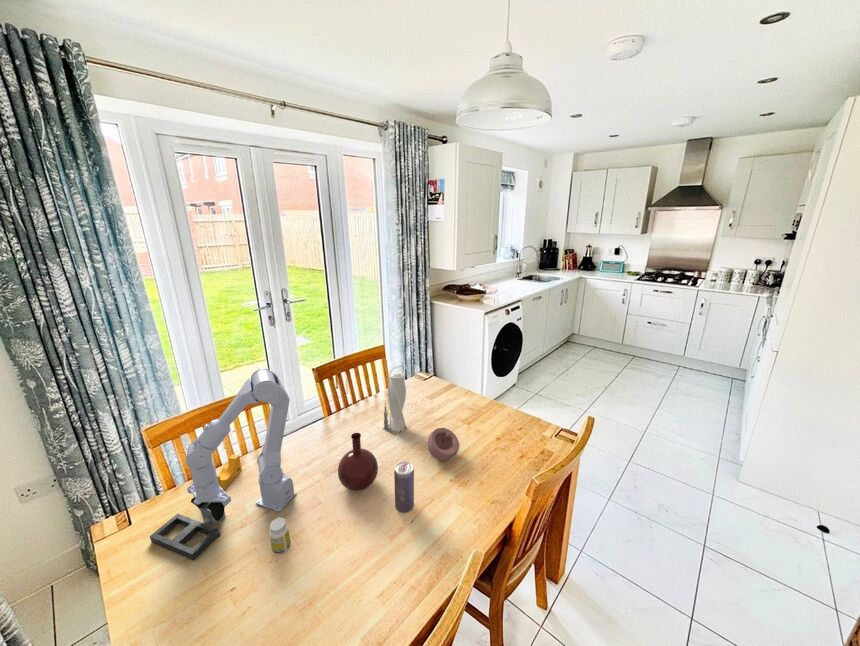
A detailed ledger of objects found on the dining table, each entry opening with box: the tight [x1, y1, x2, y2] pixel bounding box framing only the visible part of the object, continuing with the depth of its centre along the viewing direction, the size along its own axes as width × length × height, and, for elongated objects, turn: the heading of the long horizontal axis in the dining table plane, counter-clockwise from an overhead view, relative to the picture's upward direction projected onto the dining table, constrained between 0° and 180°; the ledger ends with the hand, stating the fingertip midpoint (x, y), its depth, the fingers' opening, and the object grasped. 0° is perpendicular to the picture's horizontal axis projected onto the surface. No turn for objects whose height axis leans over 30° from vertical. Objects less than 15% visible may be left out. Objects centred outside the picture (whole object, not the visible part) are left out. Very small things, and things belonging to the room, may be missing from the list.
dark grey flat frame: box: [149, 513, 221, 562], centre depth 97 cm, size 16×8×2 cm, turn 71°
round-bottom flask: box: [337, 432, 379, 492], centre depth 114 cm, size 13×13×20 cm
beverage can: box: [393, 461, 415, 514], centre depth 107 cm, size 6×6×15 cm
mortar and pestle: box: [426, 427, 460, 462], centre depth 129 cm, size 12×12×11 cm
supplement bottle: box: [269, 517, 292, 555], centre depth 94 cm, size 5×5×8 cm
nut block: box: [199, 502, 227, 528], centre depth 103 cm, size 4×4×6 cm
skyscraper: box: [382, 365, 407, 436], centre depth 144 cm, size 8×8×28 cm
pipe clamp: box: [217, 453, 243, 490], centre depth 117 cm, size 12×4×6 cm, turn 172°
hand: (214, 516), depth 103 cm, fingers closed on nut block, 4 cm apart
